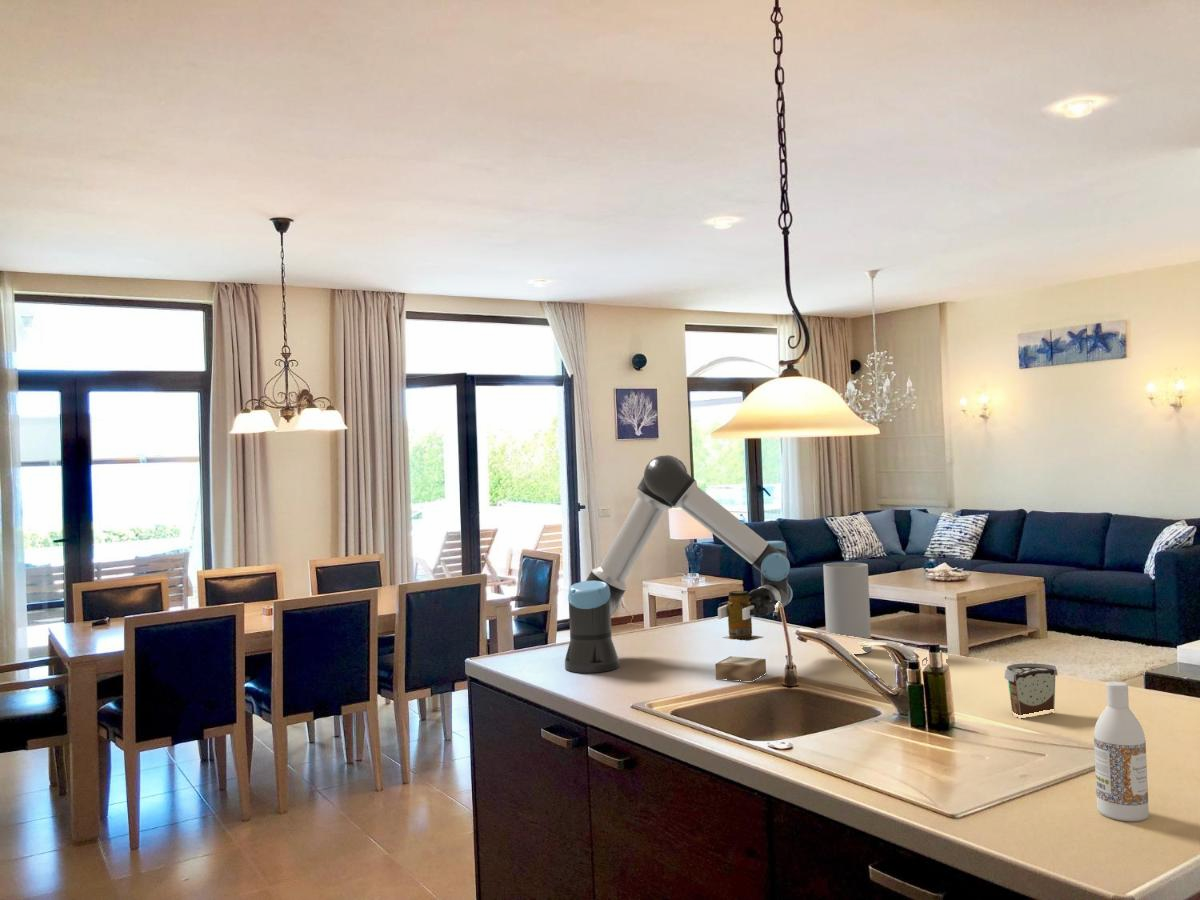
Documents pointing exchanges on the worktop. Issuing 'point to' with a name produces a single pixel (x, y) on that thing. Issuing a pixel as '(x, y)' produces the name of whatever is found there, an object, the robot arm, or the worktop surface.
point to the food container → (1031, 687)
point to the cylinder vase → (847, 600)
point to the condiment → (739, 617)
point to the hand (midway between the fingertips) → (731, 614)
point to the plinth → (740, 668)
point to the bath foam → (1120, 759)
